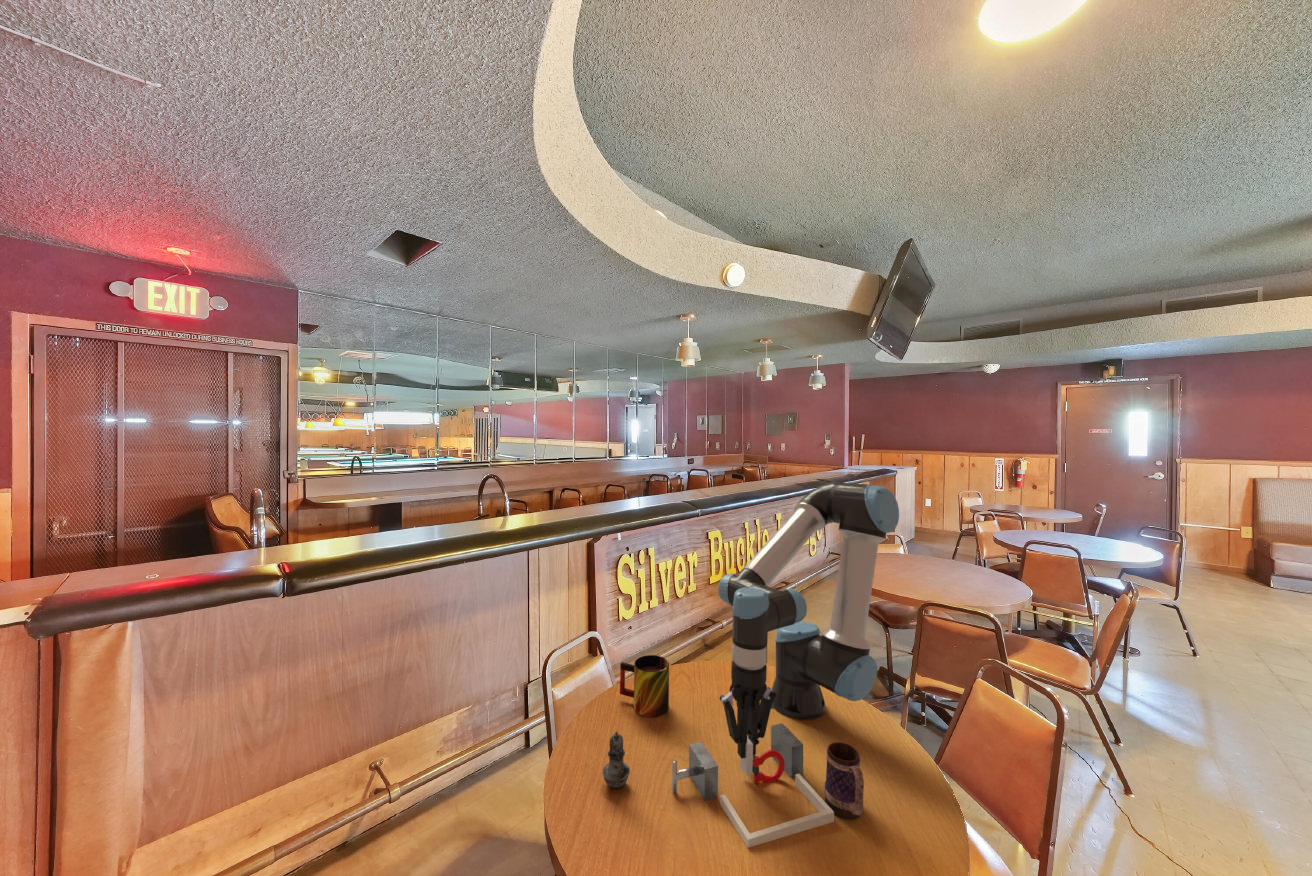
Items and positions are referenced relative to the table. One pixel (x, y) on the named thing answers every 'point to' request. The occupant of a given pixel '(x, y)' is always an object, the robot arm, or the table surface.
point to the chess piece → (616, 763)
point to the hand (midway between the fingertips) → (746, 770)
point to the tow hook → (759, 761)
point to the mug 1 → (648, 685)
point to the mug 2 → (844, 781)
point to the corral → (788, 827)
